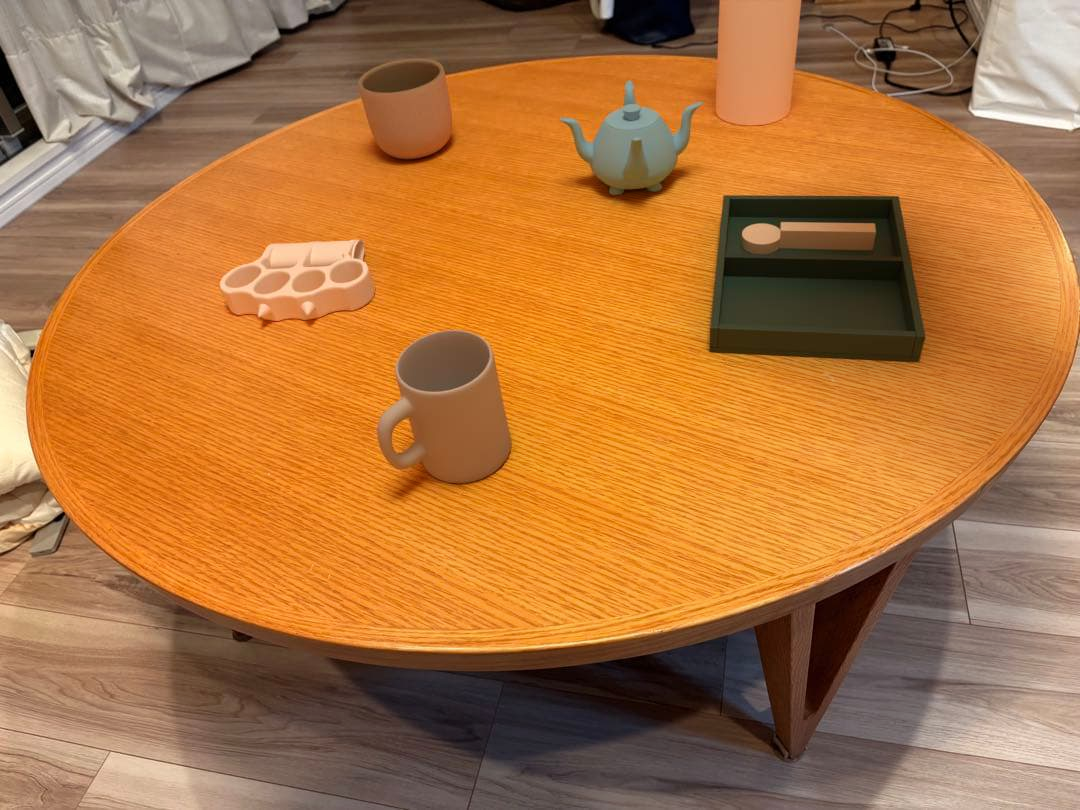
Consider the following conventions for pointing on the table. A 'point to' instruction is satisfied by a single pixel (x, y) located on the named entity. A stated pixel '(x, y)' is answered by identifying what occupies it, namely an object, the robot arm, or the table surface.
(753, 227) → the spoon
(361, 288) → the knuckle duster
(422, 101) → the planter
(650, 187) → the teapot
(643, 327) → the table surface
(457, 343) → the mug
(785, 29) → the tall pillar cylinder
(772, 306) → the tray
